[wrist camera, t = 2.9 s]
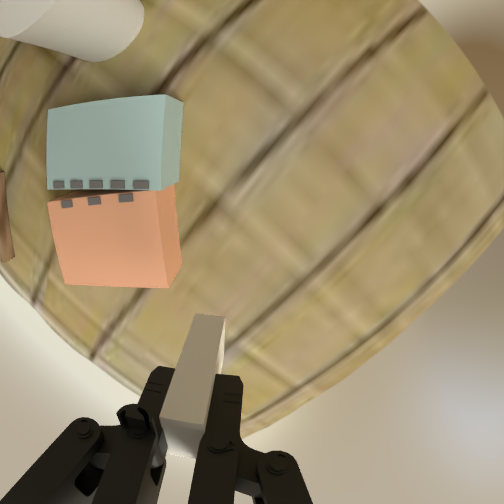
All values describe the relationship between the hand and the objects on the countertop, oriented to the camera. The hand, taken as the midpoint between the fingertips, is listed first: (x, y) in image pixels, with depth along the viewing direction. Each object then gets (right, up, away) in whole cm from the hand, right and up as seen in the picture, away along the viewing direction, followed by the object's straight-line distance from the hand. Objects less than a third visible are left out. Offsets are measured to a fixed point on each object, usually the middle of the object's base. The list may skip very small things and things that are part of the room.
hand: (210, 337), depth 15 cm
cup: (-12, +26, +4) cm, 29 cm away
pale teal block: (-9, +14, +9) cm, 19 cm away
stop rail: (-28, +9, +11) cm, 32 cm away
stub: (-10, +7, +12) cm, 17 cm away
